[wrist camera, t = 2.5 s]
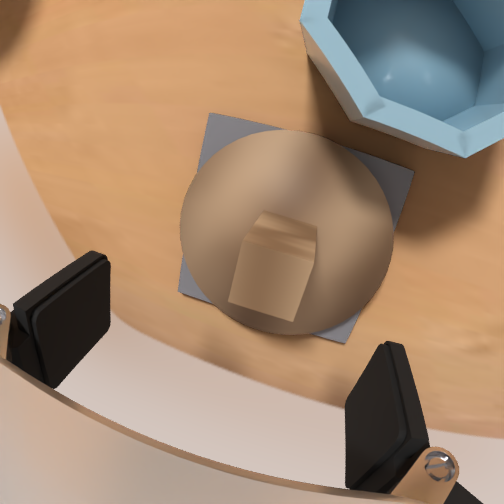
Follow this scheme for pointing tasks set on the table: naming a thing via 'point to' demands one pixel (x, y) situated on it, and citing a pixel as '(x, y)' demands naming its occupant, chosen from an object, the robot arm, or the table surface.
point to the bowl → (414, 67)
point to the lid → (286, 232)
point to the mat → (386, 173)
